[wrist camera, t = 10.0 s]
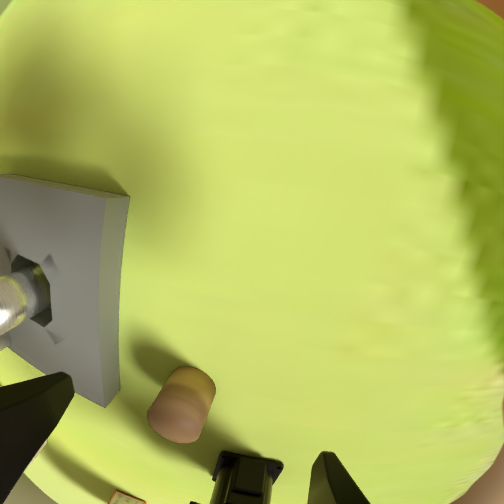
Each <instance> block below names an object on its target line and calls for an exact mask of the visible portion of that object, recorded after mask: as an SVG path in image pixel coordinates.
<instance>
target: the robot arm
mask: <svg viewBox="0 0 504 504" xmlns="http://www.w3.org/2000/svg"><path fill="white" fill-rule="evenodd" d="M74 393H75V391H74V386H73V381H72V377H71V376H70V375H69V374H67V373H65V372H63V371H60V372H57V373H53V374H49V375H46V376H42V377H38V378H34V379H31V380H27V381H23V382H19V383H15V384H11V385H7V386H2V387H0V504H3V503H4V501H5V500H6V498H7V496H8V495H9V493H10V491H11V490H12V489H13V487H14V485H15V484H16V482H17V481H18V479H19V478H20V477H21V475H22V474H23V472H24V471H25V469H26V468H27V466H28V465H29V463H30V462H31V461H32V459H33V458H34V456H35V455H36V453H37V452H38V451H39V449H40V448H41V446H42V445H43V444H44V442H45V441H46V439H47V438H48V437H49V435H50V434H51V433H52V431H53V430H54V429H55V427H56V426H57V424H58V423H59V421H60V419H61V417H62V416H63V414H64V412H65V410H66V409H67V407H68V405H69V404H70V402H71V400H72V398H73V397H74ZM283 468H284V465H283V464H282V463H279V462H273V461H267V460H261V459H256V458H251V457H246V456H242V455H237V454H233V453H229V452H221V453H220V455H219V458H218V462H217V465H216V468H215V471H214V475H213V478H212V480H213V481H214V482H216V483H215V486H214V490H213V493H212V497H211V500H210V504H270V501H271V492H272V485H273V484H274V482H275V481H276V479H277V478H278V476H279V475H280V473H281V472H282V470H283ZM190 504H199V503H197V502H193V501H191V502H190ZM307 504H370V502H369V501H368V500H367V498H366V497H365V496H364V494H363V493H362V491H361V490H360V489H359V487H358V486H357V484H356V483H355V482H354V480H353V479H352V477H351V476H350V475H349V473H348V472H347V470H346V469H345V467H344V466H343V465H342V463H341V462H340V460H339V459H338V457H337V456H336V454H335V453H334V452H328V451H322V452H321V453H320V454H319V456H318V457H317V459H316V460H315V462H314V464H313V466H312V470H311V479H310V487H309V495H308V503H307Z"/></svg>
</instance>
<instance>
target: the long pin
mask: <svg viewBox="0 0 504 504" xmlns="http://www.w3.org/2000/svg"><path fill="white" fill-rule="evenodd" d="M50 306H51V295H50V283H49V281H48V280H47V278H46V276H45V274H44V272H43V270H42V268H41V266H40V264H38V263H36V264H33V265H30V266H28V267H25V268H22V269H20V270H17V271H14V272H12V273H9V274H7V275H4V276H2V277H0V335H2V334H4V333H5V332H7V331H9V330H10V329H12V328H14V327H15V326H17V325H19V324H21V323H22V322H24V321H26V320H27V319H29V318H31V317H33V316H34V315H36V314H38V313H40V312H41V311H43V310H45V309H47V308H48V307H50Z"/></svg>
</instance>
